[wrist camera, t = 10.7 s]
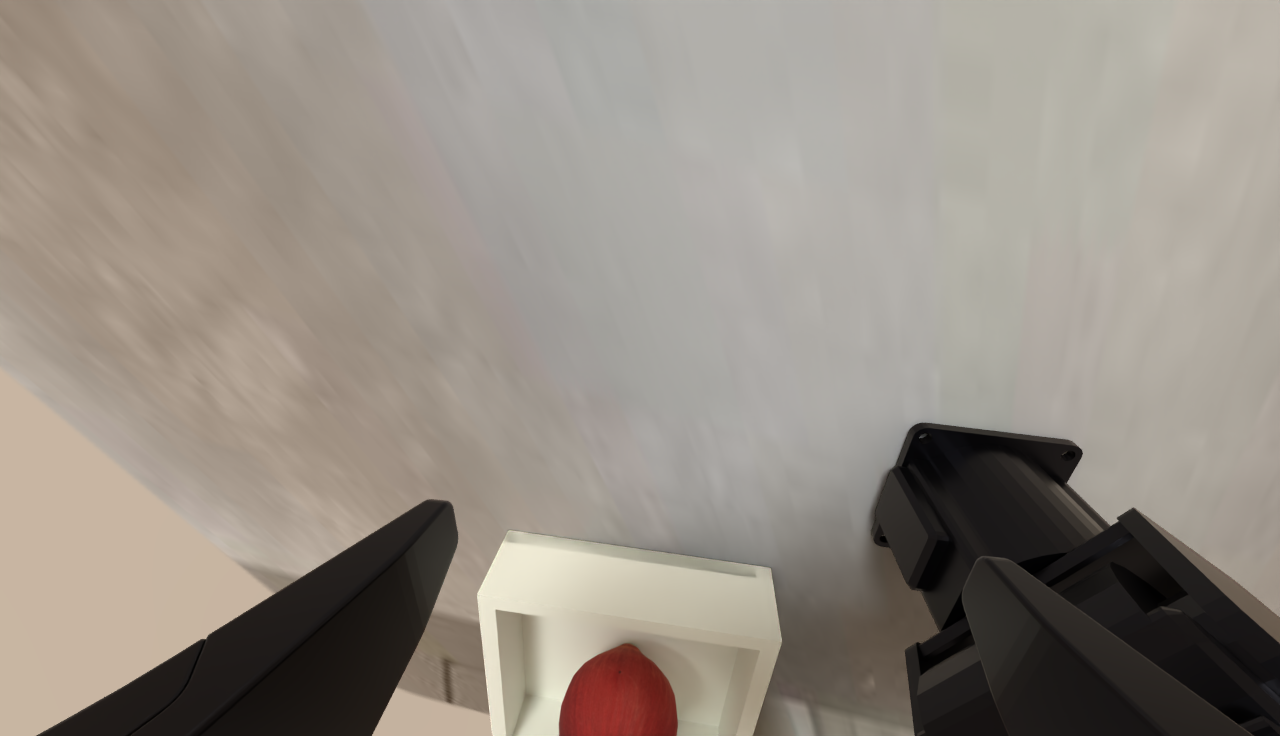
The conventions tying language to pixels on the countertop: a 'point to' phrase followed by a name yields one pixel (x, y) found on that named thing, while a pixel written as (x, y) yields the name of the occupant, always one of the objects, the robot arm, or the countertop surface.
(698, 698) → the bin
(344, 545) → the countertop surface
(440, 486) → the countertop surface
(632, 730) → the onion
